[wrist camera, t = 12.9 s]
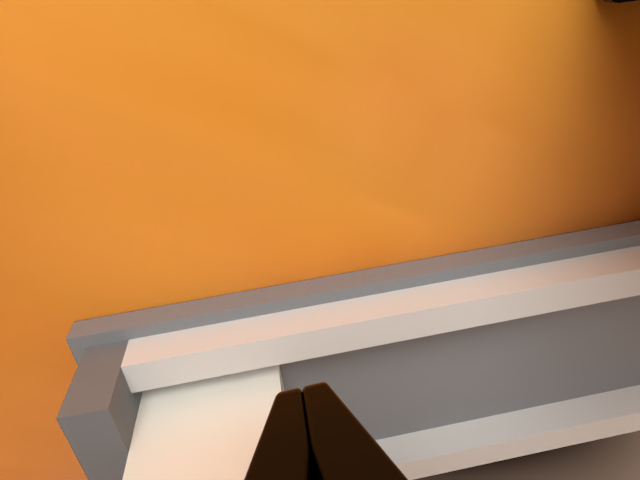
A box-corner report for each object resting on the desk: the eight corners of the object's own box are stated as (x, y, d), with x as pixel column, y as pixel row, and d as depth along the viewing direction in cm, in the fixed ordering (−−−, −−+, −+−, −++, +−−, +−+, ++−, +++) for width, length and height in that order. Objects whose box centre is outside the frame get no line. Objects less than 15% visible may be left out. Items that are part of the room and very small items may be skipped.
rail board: (727, 204, 20) (839, 253, 16) (671, 384, 25) (747, 454, 21) (74, 321, 18) (32, 409, 14) (150, 493, 22) (134, 593, 19)
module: (277, 355, 19) (290, 469, 14) (296, 445, 21) (312, 566, 17) (144, 381, 18) (116, 506, 14) (180, 470, 21) (165, 601, 16)
